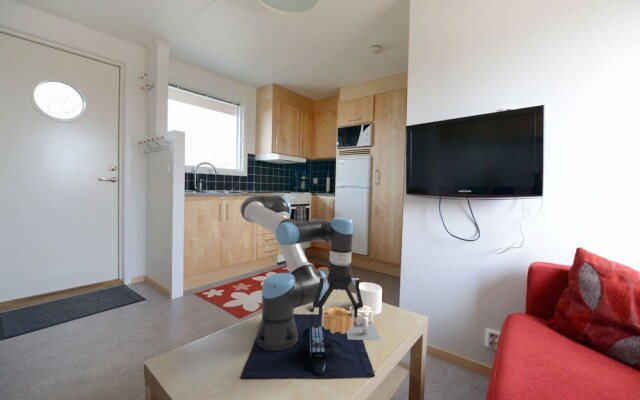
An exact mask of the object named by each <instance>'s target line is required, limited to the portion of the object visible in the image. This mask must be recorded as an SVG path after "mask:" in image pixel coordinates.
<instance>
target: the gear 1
mask: <svg viewBox="0 0 640 400" xmlns="http://www.w3.org/2000/svg"><path fill="white" fill-rule="evenodd" d="M351 325H352V316H351V312H350V311H349V310H347V309H345V308H343V307H330V308H328V309H326V310H324V327H323V328H324V330H330V333H331V334H334V335H335V333H340V334H342V335H343V334H347V332H346V330H351Z"/></svg>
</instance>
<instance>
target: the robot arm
mask: <svg viewBox="0 0 640 400" xmlns="http://www.w3.org/2000/svg"><path fill="white" fill-rule="evenodd" d="M291 207H292V206H291V203H290V201H289V200H288V198H287V197H286V196H284V195H277V194H276V195H252V196H250V197H247V198H245V200H244V201H243V202H242V203H241V206H240V210H239V211H240V214H241V217H242V218H243V219H244V220H246V222H249V223H251V224H256V225H258V226H260V227H262V228H264V229H265V230H267V231H268V232H270V233H272V234H274V237H275V238H276V241H277V243H278V247H279V248H280V251H281V253H282V257H283V258H284V261H285V263H286V266H287V268H288V271H289V272H282V273H281V272H278V273H273V274H272V275H269V276H268V277H266V278H265V279H264V281H263V282H262V290H261V297H262V298H261V321H260V324H259V327H258V329H257V333H256V343H257V345H258V346H259V347H260V348H261V349H264V350H265V351H271V352H279V351H285V350H287V349H290V348H292V347H293V346H295V345H296V344H297V342H298V341H299V340H298V339H299V332H298V327H297V324H296V322H295V317H294V315H295V312H294V311H295V309H296V308H300V307H303V306H307V305H309V304H312V303H314V305H315V306H318V307H317V308H318V317H321V327H322V328H324V311H325V303H326V302H327V300H328V299H329V298H330V296H331V294H332V292H333V291H337V290H340V291H344V290H345V292H346V295H347V296H348V298H349V300H350V303H351V304H352V306H351V305H350V307H351V316H352V325H351V328H354V318H357V310H358V308H362V307H363V303H362V298H361V294H360V289H359V283H361V281H360V279H359V277H355V278H354V277H352V276H351V273H352V251H353V238H354V237H353V235H354V225H353V224H354V221H353V219H351V218H349V217H344V216H342V217H341V216H336V217H335V216H334V217H332V218H331V220H326V219H323V218H313V219H311V220H304V221H303V220H302V221H300V220H299V221H296V220H294V219H292V218H291V215H292V209H291ZM313 242H326V243H329V244H330V247H329V264H328V265H329V267H328V275H327V276H326V273H324V271H322V270H320V269H317V270H316V267H315V265H314V263H312V262H309V261H308V259H307V256H306V254H305V251H304V250H303V247H302V246H301V244H305V243H313ZM351 283H352V284H353V285H354V288H355V294H356V293H357V298H358V302H359V303H356V298H354V295H353V293H352V292H351V289H350V287H349V286H350V284H351ZM328 284H329V286H328ZM319 300H320V301H319ZM315 306H314V307H315Z"/></svg>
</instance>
